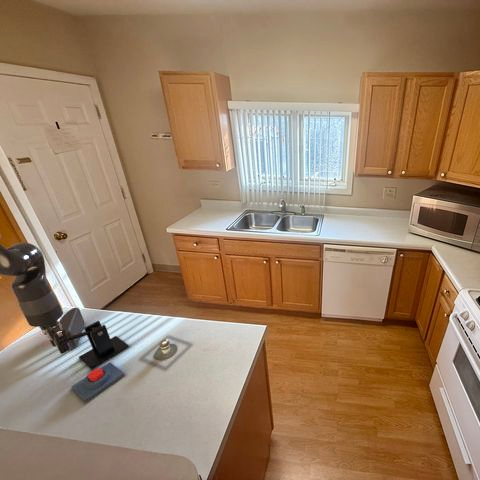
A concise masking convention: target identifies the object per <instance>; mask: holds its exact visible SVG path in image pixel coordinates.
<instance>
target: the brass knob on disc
mask: <svg viewBox="0 0 480 480" xmlns="http://www.w3.org/2000/svg"><path fill="white" fill-rule="evenodd" d="M177 351H178V346H177V345H176V344H174V343H171V342H170V340H169V339H167V338H166V339H163V340H161V341H160V342H159V347H158V348H157V349H156V351H154V353H153V356H154V359H155V360H158V361H163V360H167V359H170V358H171V357H173V356H174V355H175V354H176V353H177Z"/></svg>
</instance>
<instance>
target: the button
mask: <svg viewBox="0 0 480 480" xmlns="http://www.w3.org/2000/svg"><path fill="white" fill-rule="evenodd" d="M100 368H101V367H99V368H98V367H97V368H94V369H92V370H91V371H90V372H89V373H88V374H89V375H88V374H87V375H88V377H89V379H90V381H92V382H94V381H97V380H99V379H100V378H102V377H103V375H104V373H103V370H102V369H100Z"/></svg>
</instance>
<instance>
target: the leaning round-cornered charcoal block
mask: <svg viewBox="0 0 480 480" xmlns="http://www.w3.org/2000/svg"><path fill="white" fill-rule="evenodd" d="M58 322H60V323H61V325H62V329H64V330H65V333H66V335H67V337H69V336H72V335H76V334H79V333H83V330H84V328H85V320H84V317H83V315H82V312H81V310H80V307H72V308H71V309H70V310H68V311H66V313H64V314H63V315H62V316H61V317H60V318H59V320H58ZM80 339H81V337H79V338H76V339H73V340H69V342H68V343H67V344H68V346H69V348H70V349H73V350H74V349H75V348H77V347H78V345H79V342H80Z"/></svg>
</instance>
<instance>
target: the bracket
mask: <svg viewBox="0 0 480 480" xmlns="http://www.w3.org/2000/svg"><path fill="white" fill-rule="evenodd" d="M98 325H100V327H99V328H97V329H95V330H93V331H91V332H90V335H86V337H87V339H88V341H89V344H90V346H91V349H90V350H88V351H86V352H84V353H83V354H81V355H79V356H78V359H79V361H81V362H82V363H83V364H84V365H86V367H88V368H89V369H90V370H91V371H93V370H95V369H97V368H98V367H99V366H101V365H102V364H104V363H106V362H107V361H108V360H111V359H113V357H115V356H117V355H118V354H120V353H122V352H123V351H125V350H126V349H128V348H129V347H130V346H129V344H127V343H126V342H125V341H124V340H123V339H121V338H119V337H118V336H117V335H115V336H113V337H110V334H109V331H108V329H107V326H106V325H105V324H103V325H102V324H101V321H99V320H97V321H95V322H92V323H91V324H89V325H87V326H84V327H83V330H84V332H86V331H90V328H91V327H95V326H98Z"/></svg>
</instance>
